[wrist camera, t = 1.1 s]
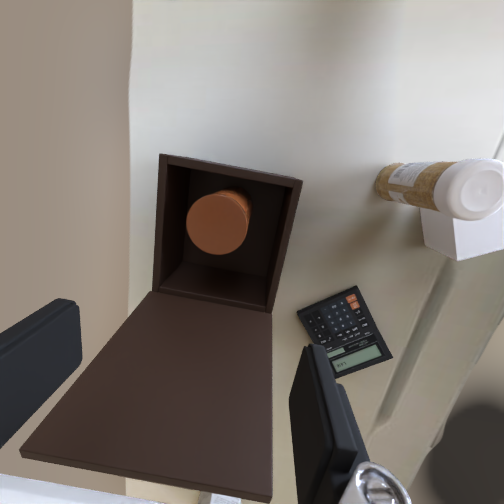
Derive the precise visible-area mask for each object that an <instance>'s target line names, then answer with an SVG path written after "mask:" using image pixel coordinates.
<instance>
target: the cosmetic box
mask: <svg viewBox="0 0 504 504" xmlns="http://www.w3.org/2000/svg"><path fill="white" fill-rule="evenodd" d="M198 504H241V498H236V497H230V496H225V495H220V494H214V493H209V492H204V491H200V495H199V500H198Z"/></svg>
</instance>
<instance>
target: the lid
mask: <svg viewBox="0 0 504 504" xmlns="http://www.w3.org/2000/svg"><path fill="white" fill-rule="evenodd" d="M19 451H20V453H21V456H22V458H27V459H33V460H38V461H43V462H48V463H54V464H59V465H64V466H70V467H75V468H81V469H86V470H91V471H97V472H102V473H107V474H113V475H118V476H121V477H126V478H131V479H137V480H142V481H147V482H153V483H158V484H163V485H169V486H174V487H180V488H185V489H190V490H198V491H204V492H209V493H214V494H220V495H225V496H230V497H236V498H241V499H247V500H252V501H257V502H263V503H268V504H269V503H270V501H271V499H272V496H273V459H272V314H269V313H264V312H258V311H253V310H248V309H242V308H237V307H232V306H227V305H221V304H216V303H211V302H205V301H200V300H195V299H189V298H184V297H179V296H174V295H168V294H163V293H158V292H152V291H150V292H149V293H148V294H147V295H146V297H145V298H144V299H143V300H142V301H141V303H140V304H139V305H138V306H137V307H136V309H135V310H134V311H133V312H132V313H131V315H130V316H129V317H128V318H127V319H126V321H125V322H124V323H123V324H122V326H121V327H120V328H119V329H118V330H117V332H116V333H115V334H114V335H113V336H112V338H111V339H110V340H109V341H108V342H107V344H106V345H105V346H104V347H103V349H102V350H101V351H100V352H99V353H98V355H97V356H96V357H95V358H94V359H93V361H92V362H91V363H90V364H89V365H88V367H87V368H86V369H85V371H84V372H83V373H82V374H81V375H80V376H79V378H78V379H77V380H76V381H75V382H74V384H73V385H72V386H71V387H70V388H69V390H68V391H67V392H66V394H64V396H63V397H62V398H61V399H60V401H59V402H58V403H57V404H56V405H55V407H54V408H53V409H52V410H51V411H50V413H49V414H48V415H47V416H46V417H45V419H44V420H43V421H42V422H41V423H40V425H39V426H38V427H37V428H36V430H35V431H34V432H33V433H32V434H31V436H30V437H29V438H28V439H27V441H26V442H25V443H24V444H23V445H22V446H21V448H20V449H19Z"/></svg>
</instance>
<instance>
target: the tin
mask: <svg viewBox="0 0 504 504" xmlns="http://www.w3.org/2000/svg"><path fill="white" fill-rule="evenodd" d="M252 212H253V200H252V198H251V196H250V194H249V193H248V192H247V191H246V190H245V189H243V188H241V187H238V186H229V187H226V188H224V189H222V190H220V191H218V192H216V193H214V194H210V195H206V196H204V197H202V198H200V199H199V200H197V201H196V202H195V203H194V204H193V205H192V206H191V208H190V210H189V212H188V215H187V220H186V225H187V231H188V234H189V236H190V238H191V240H192V241H193V243H194V244H195V245H196V246H197V247H198V248H200V249H201V250H203V251H205V252H207V253H210V254H214V255H223V254H228V253H230V252H232V251H234V250H236V249H237V248H238V247H239V246H240V245H241V244H242V242H243V241H244V239H245V237H246V234H247V230H248V224H249V221H250V218H251V215H252Z"/></svg>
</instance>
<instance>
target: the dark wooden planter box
mask: <svg viewBox="0 0 504 504" xmlns="http://www.w3.org/2000/svg"><path fill="white" fill-rule="evenodd" d="M302 184H303V181H302V180H299V179H296V178H294V177H289V176H283V175H278V174H273V173H268V172H262V171H257V170H252V169H247V168H241V167H236V166H231V165H226V164H220V163H215V162H210V161H204V160H199V159H194V158H189V157H182V156H175V155H167V154H159V170H158V189H157V208H156V227H155V246H154V264H153V283H152V292H158V293H163V294H168V295H174V296H179V297H184V298H189V299H195V300H200V301H205V302H211V303H216V304H221V305H227V306H232V307H237V308H242V309H248V310H253V311H258V312H265V313H269V314H272V310H273V306H274V301H275V297H276V293H277V289H278V285H279V280H280V276H281V272H282V268H283V264H284V260H285V255H286V251H287V247H288V243H289V239H290V234H291V230H292V226H293V222H294V218H295V213H296V209H297V205H298V201H299V197H300V192H301V188H302ZM229 186H238V187H241V188H243V189H245V190H246V191H247V192H248V193H249V194H250V196H251V198H252V200H253V212H252V215H251V218H250V221H249V224H248V230H247V234H246V237H245V239H244V241H243V242H242V244H241V245H240V246H239V247H238V248H237V249H236V250H234V251H232V252H230V253H228V254H223V255H214V254H210V253H207V252H205V251H203V250H201V249H200V248H198V247H197V246H196V245H195V244H194V243H193V241H192V240H191V238H190V236H189V234H188V231H187V225H186V220H187V215H188V212H189V210H190V208H191V206H192V205H193V204H194V203H195V202H196V201H197V200H199V199H200V198H202V197H204V196H206V195H210V194H214V193H216V192H218V191H220V190H222V189H224V188H226V187H229Z"/></svg>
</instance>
